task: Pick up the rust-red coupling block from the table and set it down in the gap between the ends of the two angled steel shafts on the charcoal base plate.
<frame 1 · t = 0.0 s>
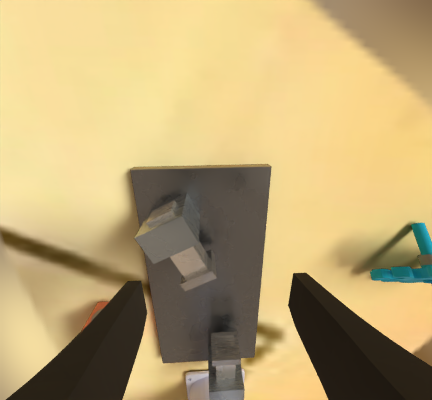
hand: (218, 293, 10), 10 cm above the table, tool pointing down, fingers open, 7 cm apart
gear: (402, 250, 23), on the table
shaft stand: (222, 282, 22), on the table
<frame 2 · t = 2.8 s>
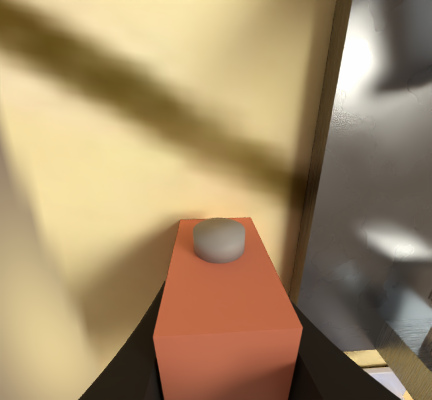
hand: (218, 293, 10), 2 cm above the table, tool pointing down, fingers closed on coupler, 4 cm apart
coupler: (216, 266, 12), on the table, touching gripper
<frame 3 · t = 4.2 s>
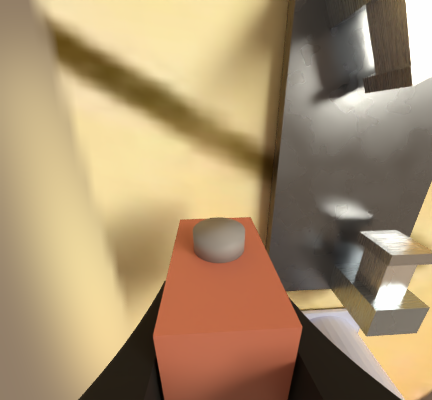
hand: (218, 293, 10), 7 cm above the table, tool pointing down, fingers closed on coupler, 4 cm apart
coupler: (216, 266, 12), point 5 cm above the table, touching gripper
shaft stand: (374, 156, 15), on the table
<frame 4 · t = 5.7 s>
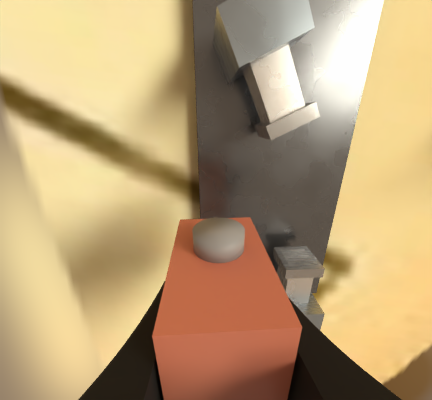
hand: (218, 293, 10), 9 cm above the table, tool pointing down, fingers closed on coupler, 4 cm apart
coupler: (216, 265, 12), point 7 cm above the table, touching gripper
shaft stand: (288, 182, 17), on the table
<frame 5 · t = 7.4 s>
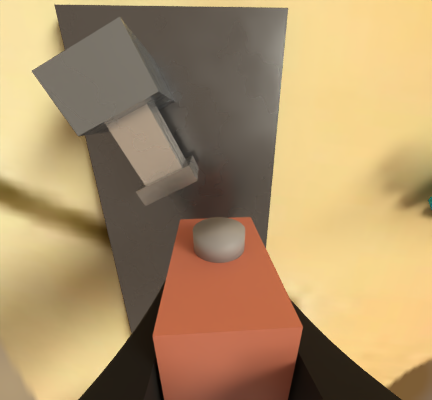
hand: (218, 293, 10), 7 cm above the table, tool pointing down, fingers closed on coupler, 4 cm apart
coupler: (216, 265, 12), point 5 cm above the table, touching gripper
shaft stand: (213, 226, 16), on the table
when the fingers open (4 cm above the table, at t = 8.6 s): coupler drops 1 cm, resting on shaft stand.
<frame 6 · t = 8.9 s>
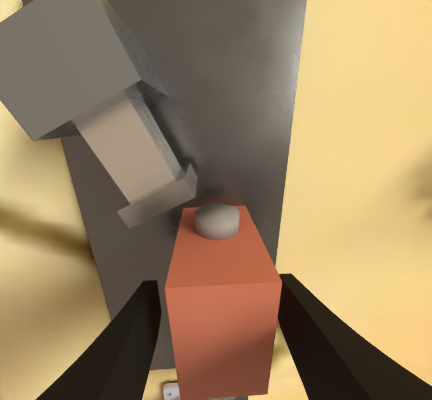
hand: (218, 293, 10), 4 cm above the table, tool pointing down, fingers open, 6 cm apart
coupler: (215, 250, 13), point 1 cm above the table, touching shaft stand
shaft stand: (214, 241, 14), on the table
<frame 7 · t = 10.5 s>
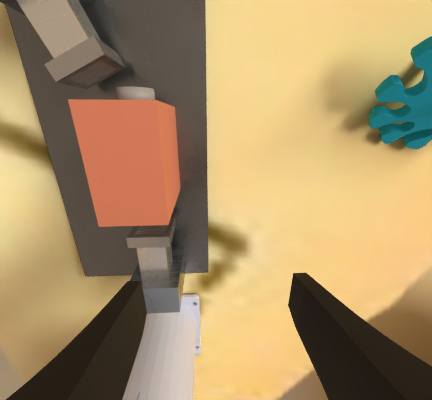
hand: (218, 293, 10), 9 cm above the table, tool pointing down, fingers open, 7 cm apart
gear: (415, 97, 16), on the table
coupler: (153, 151, 15), point 1 cm above the table, touching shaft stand
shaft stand: (156, 149, 16), on the table
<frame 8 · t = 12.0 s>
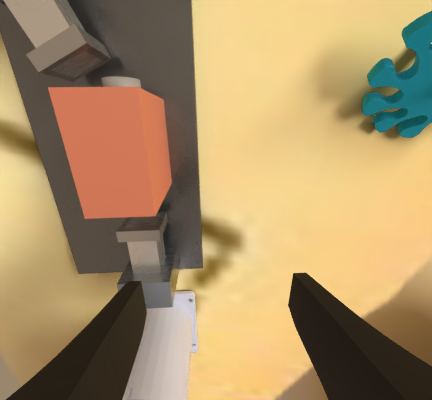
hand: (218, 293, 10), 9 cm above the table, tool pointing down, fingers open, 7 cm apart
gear: (409, 85, 16), on the table
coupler: (143, 144, 15), point 1 cm above the table, touching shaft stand
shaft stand: (146, 143, 16), on the table
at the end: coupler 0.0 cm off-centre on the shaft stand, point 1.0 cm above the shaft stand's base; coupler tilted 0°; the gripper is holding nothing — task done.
